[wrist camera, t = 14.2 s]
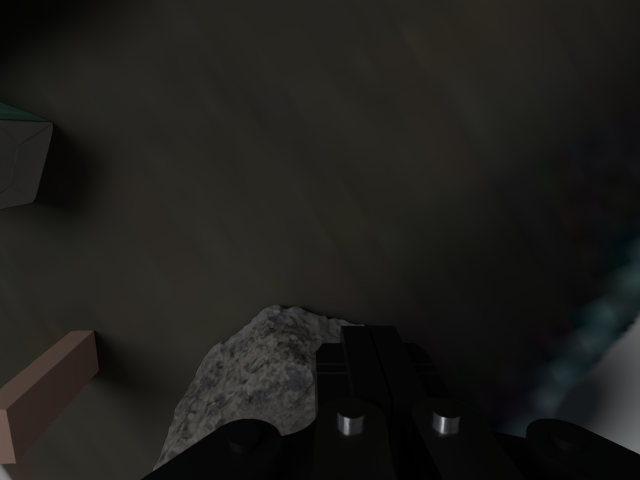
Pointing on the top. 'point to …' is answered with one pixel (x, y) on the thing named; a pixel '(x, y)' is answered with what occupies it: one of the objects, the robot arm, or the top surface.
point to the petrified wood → (255, 378)
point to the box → (21, 154)
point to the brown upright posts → (44, 392)
